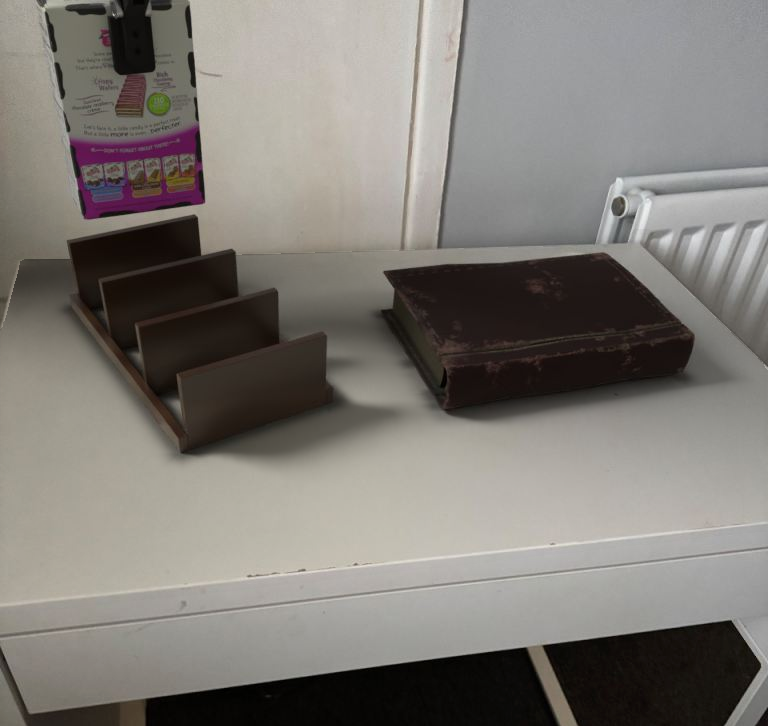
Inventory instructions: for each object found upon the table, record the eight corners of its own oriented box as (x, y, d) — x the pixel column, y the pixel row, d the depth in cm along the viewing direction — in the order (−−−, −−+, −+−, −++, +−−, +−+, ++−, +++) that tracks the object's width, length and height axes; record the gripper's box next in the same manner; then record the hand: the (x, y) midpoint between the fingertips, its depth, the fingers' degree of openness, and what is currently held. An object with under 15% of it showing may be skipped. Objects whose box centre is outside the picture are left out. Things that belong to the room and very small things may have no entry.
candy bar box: (189, 184, 79) (174, -16, 68) (207, 206, 76) (194, 0, 65) (68, 198, 75) (30, -13, 63) (81, 222, 72) (44, 5, 60)
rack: (72, 308, 82) (57, 241, 78) (207, 275, 89) (202, 212, 84) (180, 453, 68) (170, 381, 63) (333, 401, 74) (335, 333, 69)
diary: (684, 380, 80) (701, 335, 77) (444, 418, 73) (450, 370, 70) (589, 286, 93) (601, 243, 89) (377, 311, 86) (380, 265, 82)
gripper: (-13, -256, 58) (40, 35, 71) (72, -231, 48) (115, 101, 61) (93, -247, 61) (125, 28, 74) (192, -223, 52) (210, 90, 64)
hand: (120, 58), depth 67 cm, fingers closed on candy bar box, 5 cm apart
